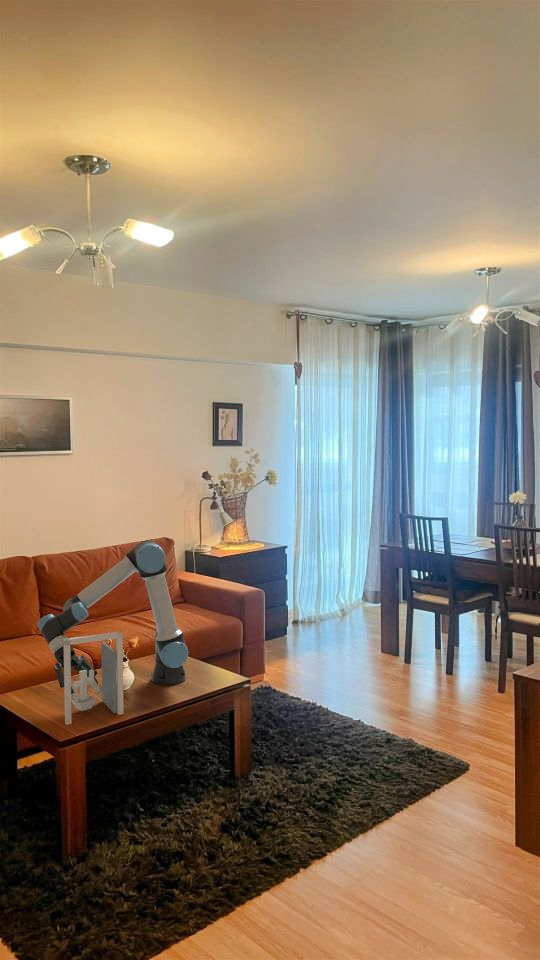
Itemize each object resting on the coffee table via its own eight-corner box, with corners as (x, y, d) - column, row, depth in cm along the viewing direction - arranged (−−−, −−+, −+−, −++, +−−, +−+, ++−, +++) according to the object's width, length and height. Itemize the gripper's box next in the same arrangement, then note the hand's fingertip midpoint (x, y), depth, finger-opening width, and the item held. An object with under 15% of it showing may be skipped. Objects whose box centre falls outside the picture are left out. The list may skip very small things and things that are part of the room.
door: (120, 711, 270) (119, 651, 269) (113, 713, 269) (112, 652, 268) (108, 699, 284) (107, 641, 284) (102, 700, 283) (101, 642, 282)
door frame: (122, 712, 271) (120, 631, 270) (123, 713, 269) (122, 632, 268) (64, 723, 260) (63, 638, 259) (66, 724, 259) (64, 640, 257)
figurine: (67, 709, 271) (67, 671, 270) (88, 702, 278) (88, 665, 277) (78, 713, 266) (77, 675, 265) (99, 707, 273) (98, 669, 272)
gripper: (80, 648, 289) (106, 693, 280) (34, 661, 271) (60, 710, 262) (88, 637, 286) (114, 683, 277) (42, 650, 268) (69, 699, 259)
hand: (88, 696), depth 270 cm, fingers closed on figurine, 9 cm apart
